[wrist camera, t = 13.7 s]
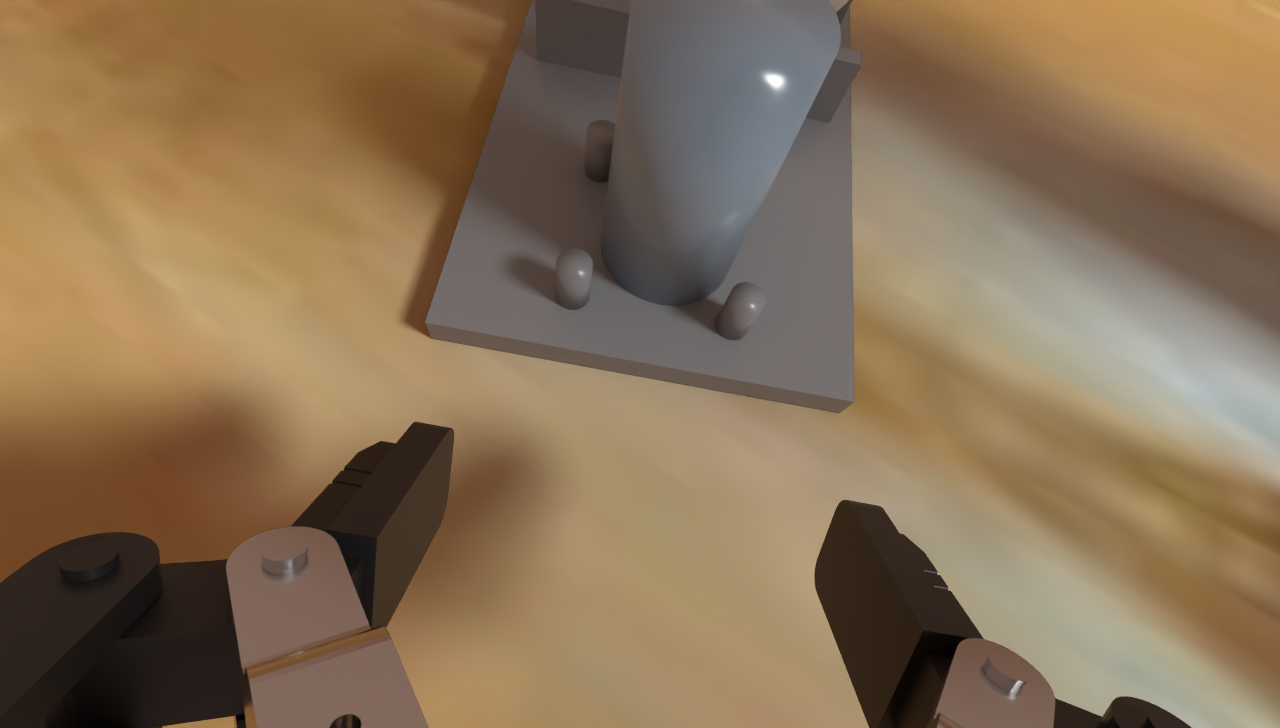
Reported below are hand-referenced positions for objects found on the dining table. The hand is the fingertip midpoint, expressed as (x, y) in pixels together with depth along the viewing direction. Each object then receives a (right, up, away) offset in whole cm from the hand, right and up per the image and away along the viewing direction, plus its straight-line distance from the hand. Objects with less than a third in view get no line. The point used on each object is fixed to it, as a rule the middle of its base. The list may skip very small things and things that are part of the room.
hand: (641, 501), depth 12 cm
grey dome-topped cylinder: (+1, +7, +10) cm, 13 cm away
